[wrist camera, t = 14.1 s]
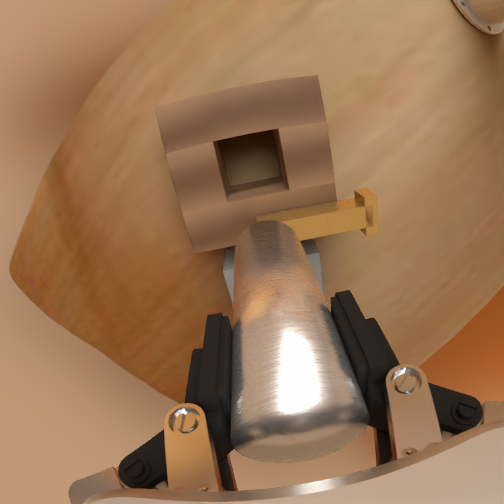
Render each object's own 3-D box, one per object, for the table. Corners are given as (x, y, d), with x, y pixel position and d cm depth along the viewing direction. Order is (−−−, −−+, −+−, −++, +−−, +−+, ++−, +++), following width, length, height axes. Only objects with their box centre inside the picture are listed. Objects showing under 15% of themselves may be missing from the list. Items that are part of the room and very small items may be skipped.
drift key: (254, 207, 26) (255, 217, 24) (365, 188, 25) (377, 195, 23) (261, 244, 27) (263, 256, 25) (367, 223, 27) (378, 233, 25)
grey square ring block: (225, 249, 34) (222, 271, 30) (309, 233, 34) (319, 252, 29) (243, 315, 39) (243, 341, 34) (316, 301, 38) (325, 325, 34)
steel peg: (228, 226, 17) (213, 413, 6) (297, 214, 17) (378, 383, 6) (242, 284, 19) (246, 468, 8) (304, 273, 19) (361, 447, 8)
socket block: (170, 109, 27) (154, 108, 22) (303, 82, 26) (317, 75, 21) (202, 229, 33) (194, 253, 28) (323, 206, 32) (338, 225, 27)
